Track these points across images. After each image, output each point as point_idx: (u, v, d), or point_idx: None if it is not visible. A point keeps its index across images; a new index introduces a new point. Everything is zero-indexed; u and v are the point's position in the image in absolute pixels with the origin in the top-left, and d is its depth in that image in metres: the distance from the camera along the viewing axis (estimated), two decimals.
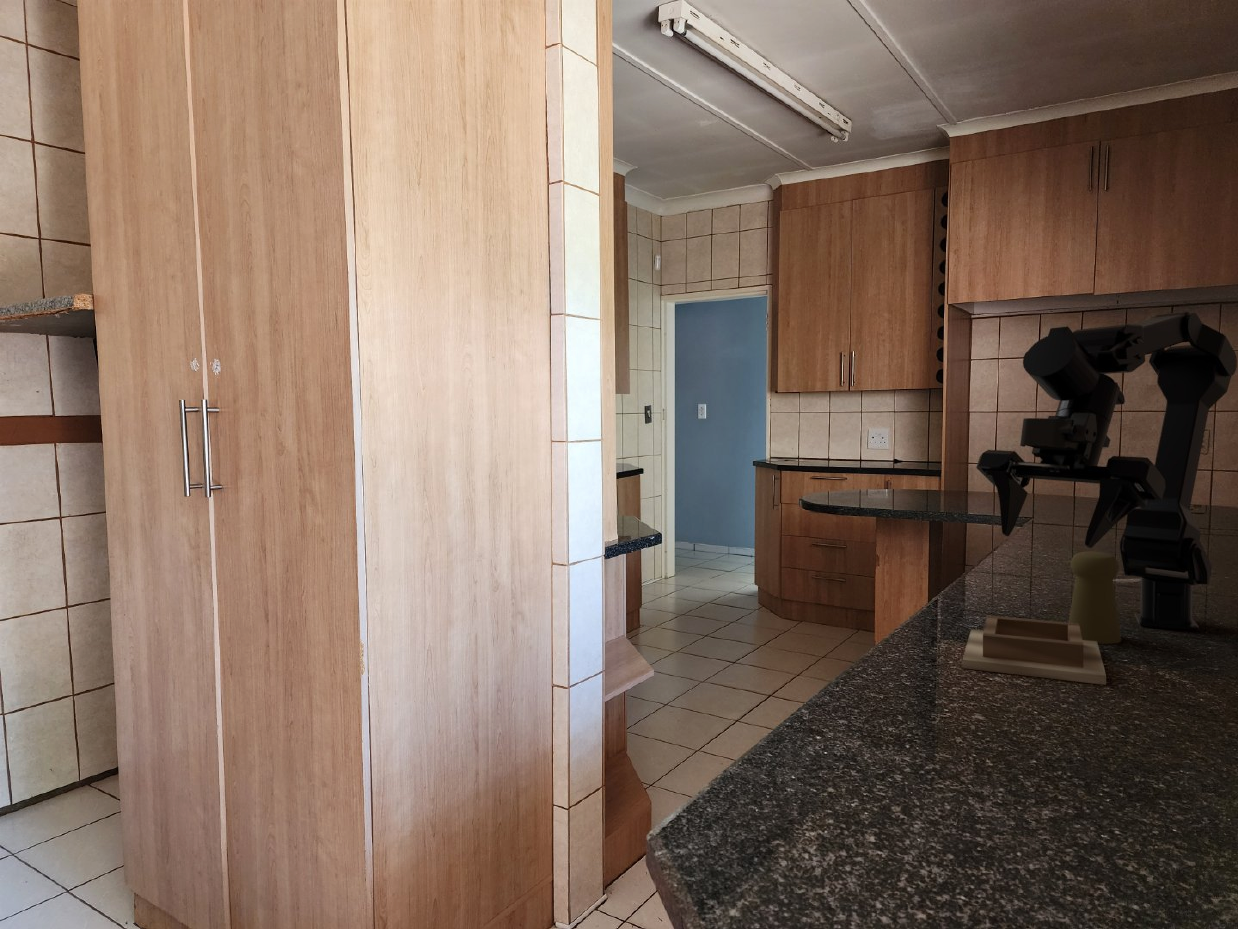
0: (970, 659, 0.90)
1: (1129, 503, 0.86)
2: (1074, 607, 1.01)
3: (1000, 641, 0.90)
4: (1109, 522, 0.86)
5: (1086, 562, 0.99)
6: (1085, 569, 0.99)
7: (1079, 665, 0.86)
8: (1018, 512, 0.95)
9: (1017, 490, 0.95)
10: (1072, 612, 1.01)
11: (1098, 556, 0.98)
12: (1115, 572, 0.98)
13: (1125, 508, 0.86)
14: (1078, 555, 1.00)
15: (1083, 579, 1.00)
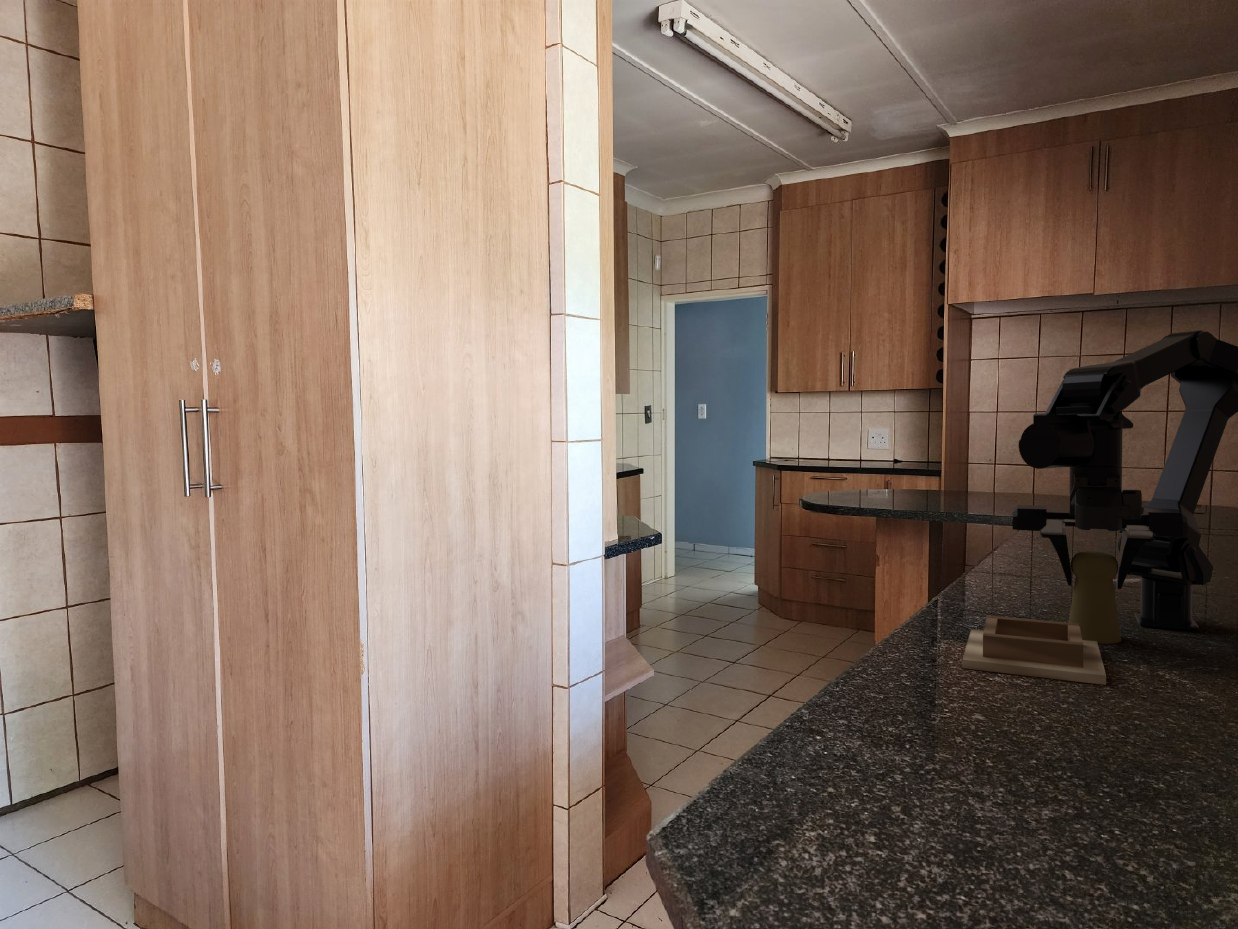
0: (970, 659, 0.90)
1: None
2: (1074, 606, 1.01)
3: (1000, 641, 0.90)
4: None
5: (1086, 562, 0.99)
6: (1085, 569, 0.99)
7: (1079, 665, 0.86)
8: None
9: None
10: (1072, 612, 1.01)
11: (1098, 556, 0.98)
12: (1115, 572, 0.98)
13: None
14: (1078, 555, 1.00)
15: (1083, 579, 1.00)
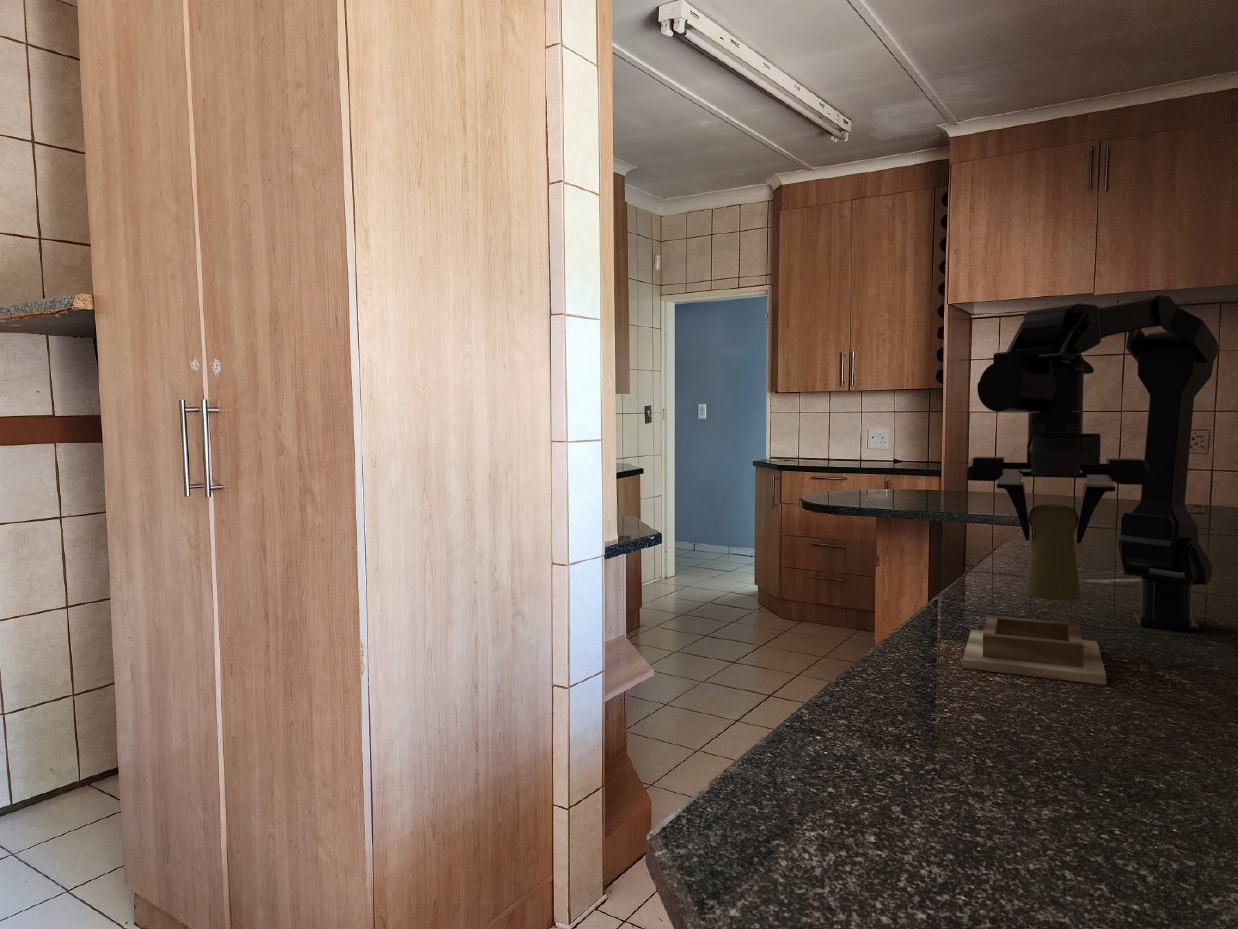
0: (970, 659, 0.90)
1: None
2: (1031, 562, 0.95)
3: (1000, 641, 0.90)
4: None
5: (1044, 514, 0.93)
6: (1043, 521, 0.93)
7: (1079, 665, 0.86)
8: None
9: (1024, 490, 0.96)
10: (1029, 568, 0.95)
11: (1057, 507, 0.93)
12: (1074, 524, 0.92)
13: None
14: (1036, 507, 0.94)
15: (1041, 532, 0.94)
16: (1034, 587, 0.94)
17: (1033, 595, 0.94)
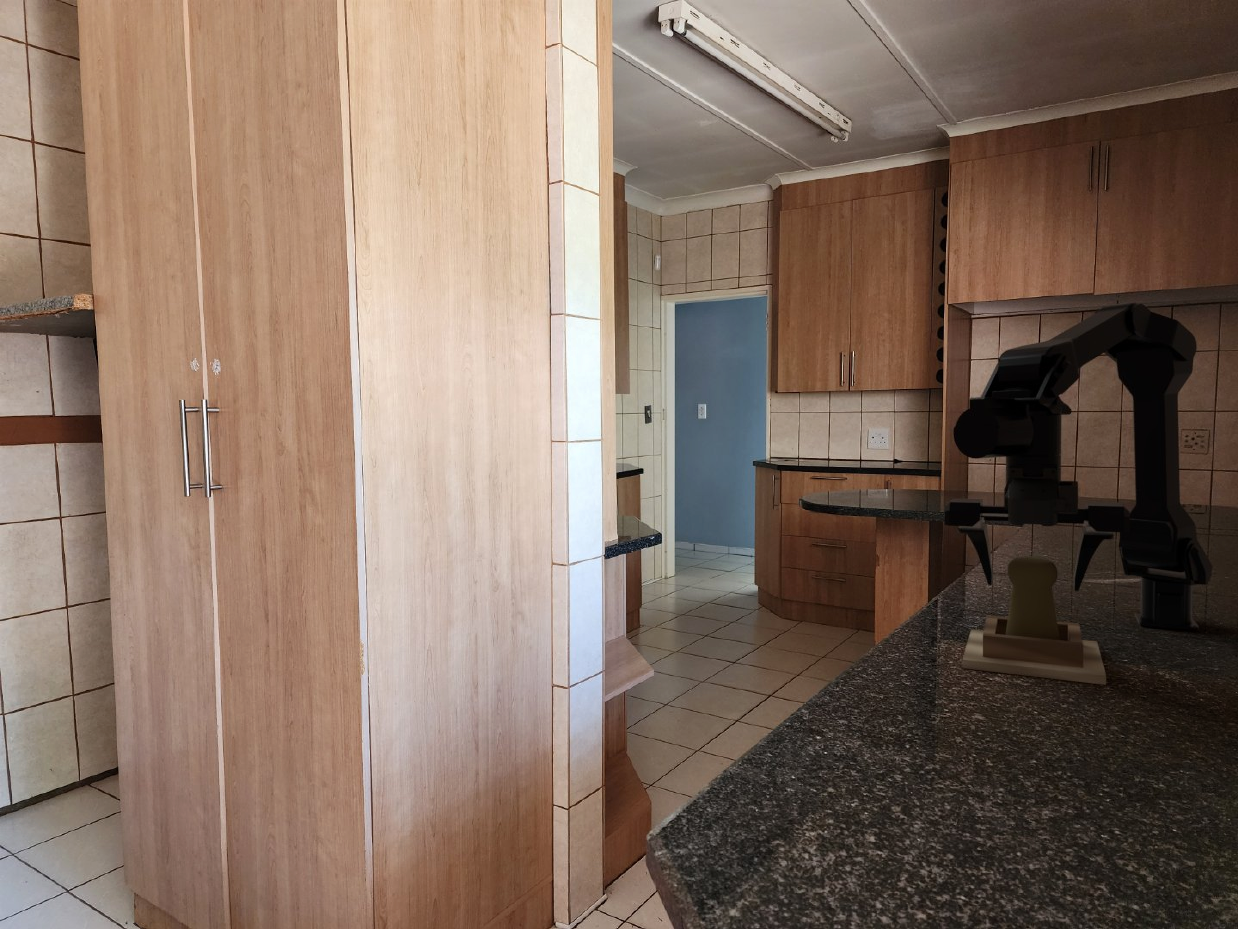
0: (970, 659, 0.90)
1: None
2: (1010, 617, 0.92)
3: (1000, 641, 0.90)
4: None
5: (1022, 569, 0.91)
6: (1021, 576, 0.91)
7: (1079, 665, 0.86)
8: None
9: (986, 534, 0.94)
10: (1009, 623, 0.93)
11: (1035, 562, 0.90)
12: (1053, 579, 0.90)
13: None
14: (1014, 561, 0.92)
15: (1019, 586, 0.91)
16: None
17: None
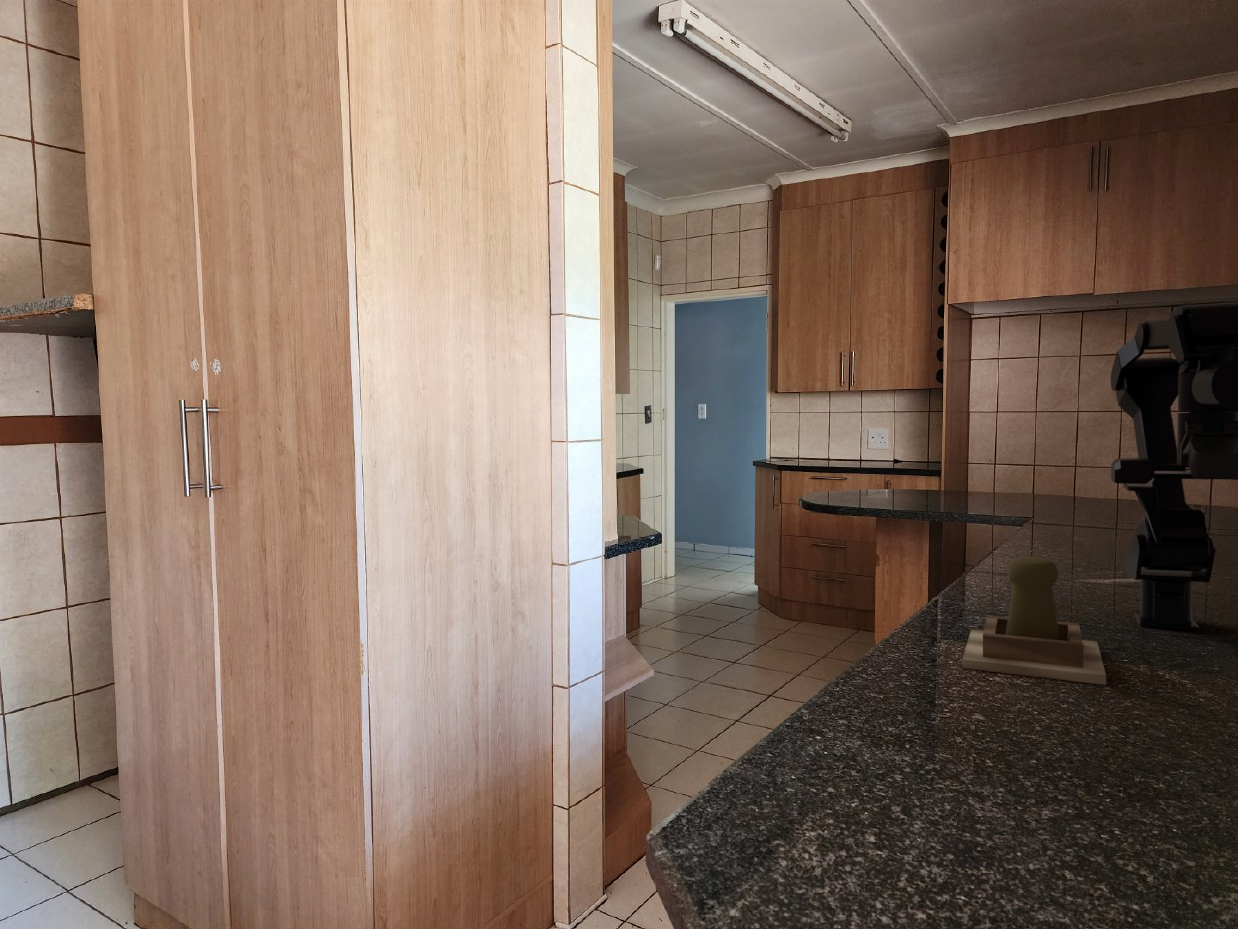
0: (970, 659, 0.90)
1: None
2: (1010, 617, 0.93)
3: (1000, 641, 0.90)
4: None
5: (1022, 568, 0.91)
6: (1021, 576, 0.91)
7: (1079, 665, 0.86)
8: None
9: None
10: (1009, 622, 0.93)
11: (1035, 562, 0.90)
12: (1053, 579, 0.90)
13: None
14: (1014, 560, 0.92)
15: (1019, 586, 0.91)
16: None
17: None
